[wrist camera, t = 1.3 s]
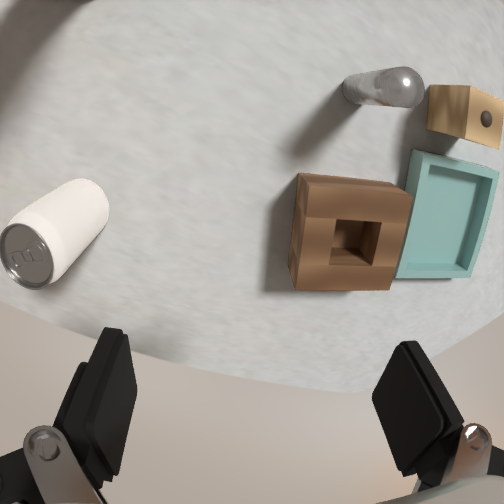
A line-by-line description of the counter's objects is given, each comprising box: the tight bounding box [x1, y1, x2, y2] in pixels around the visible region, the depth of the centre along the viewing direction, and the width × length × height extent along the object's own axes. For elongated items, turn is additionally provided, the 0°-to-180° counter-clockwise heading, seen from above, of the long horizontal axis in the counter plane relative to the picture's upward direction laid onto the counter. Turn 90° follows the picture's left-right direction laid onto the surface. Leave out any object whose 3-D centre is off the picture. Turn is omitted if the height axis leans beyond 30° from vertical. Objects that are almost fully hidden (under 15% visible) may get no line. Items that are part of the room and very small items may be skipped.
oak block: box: [426, 85, 504, 150], centre depth 24 cm, size 5×5×7 cm
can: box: [0, 179, 109, 290], centre depth 25 cm, size 6×6×12 cm
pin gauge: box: [342, 67, 425, 108], centre depth 22 cm, size 3×3×10 cm
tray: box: [394, 149, 499, 278], centre depth 32 cm, size 14×12×2 cm
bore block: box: [288, 173, 413, 291], centre depth 31 cm, size 10×10×5 cm
